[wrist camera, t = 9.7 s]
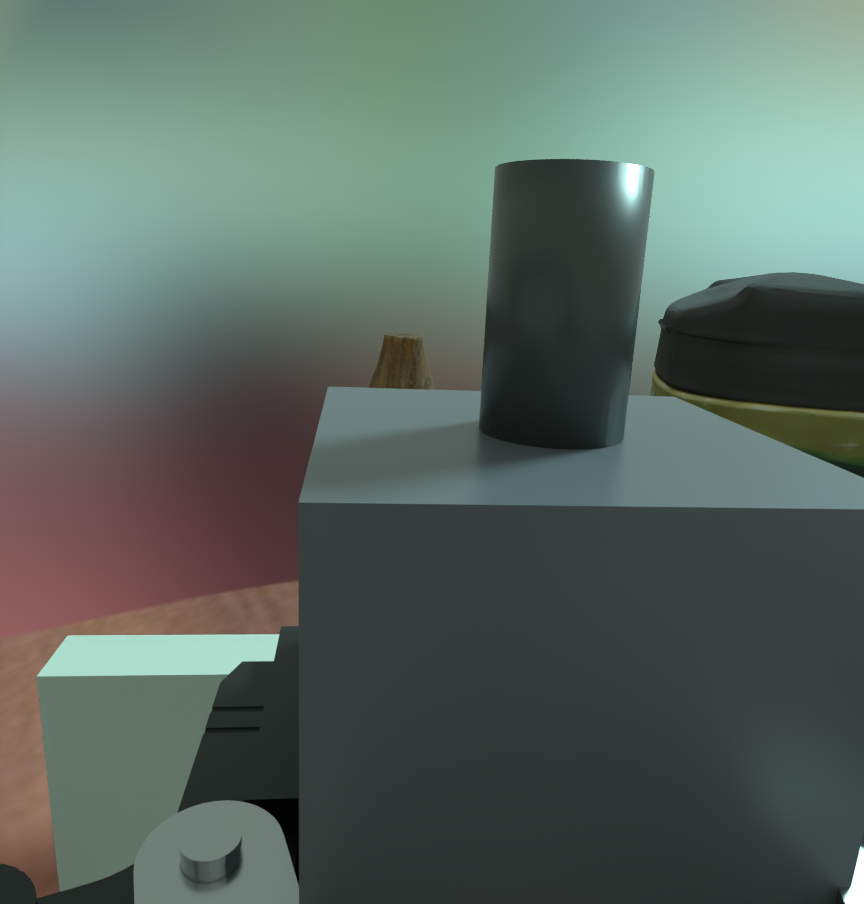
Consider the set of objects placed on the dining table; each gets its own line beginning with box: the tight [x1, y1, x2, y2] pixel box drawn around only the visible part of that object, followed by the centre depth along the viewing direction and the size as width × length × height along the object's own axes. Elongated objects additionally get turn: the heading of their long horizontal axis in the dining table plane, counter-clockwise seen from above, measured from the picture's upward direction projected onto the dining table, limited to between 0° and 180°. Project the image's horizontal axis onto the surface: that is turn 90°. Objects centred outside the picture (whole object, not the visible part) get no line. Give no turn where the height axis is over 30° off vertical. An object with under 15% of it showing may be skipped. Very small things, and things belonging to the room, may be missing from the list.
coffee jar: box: [651, 272, 864, 478], centre depth 25 cm, size 10×8×19 cm
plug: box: [299, 159, 864, 904], centre depth 8 cm, size 4×5×13 cm
